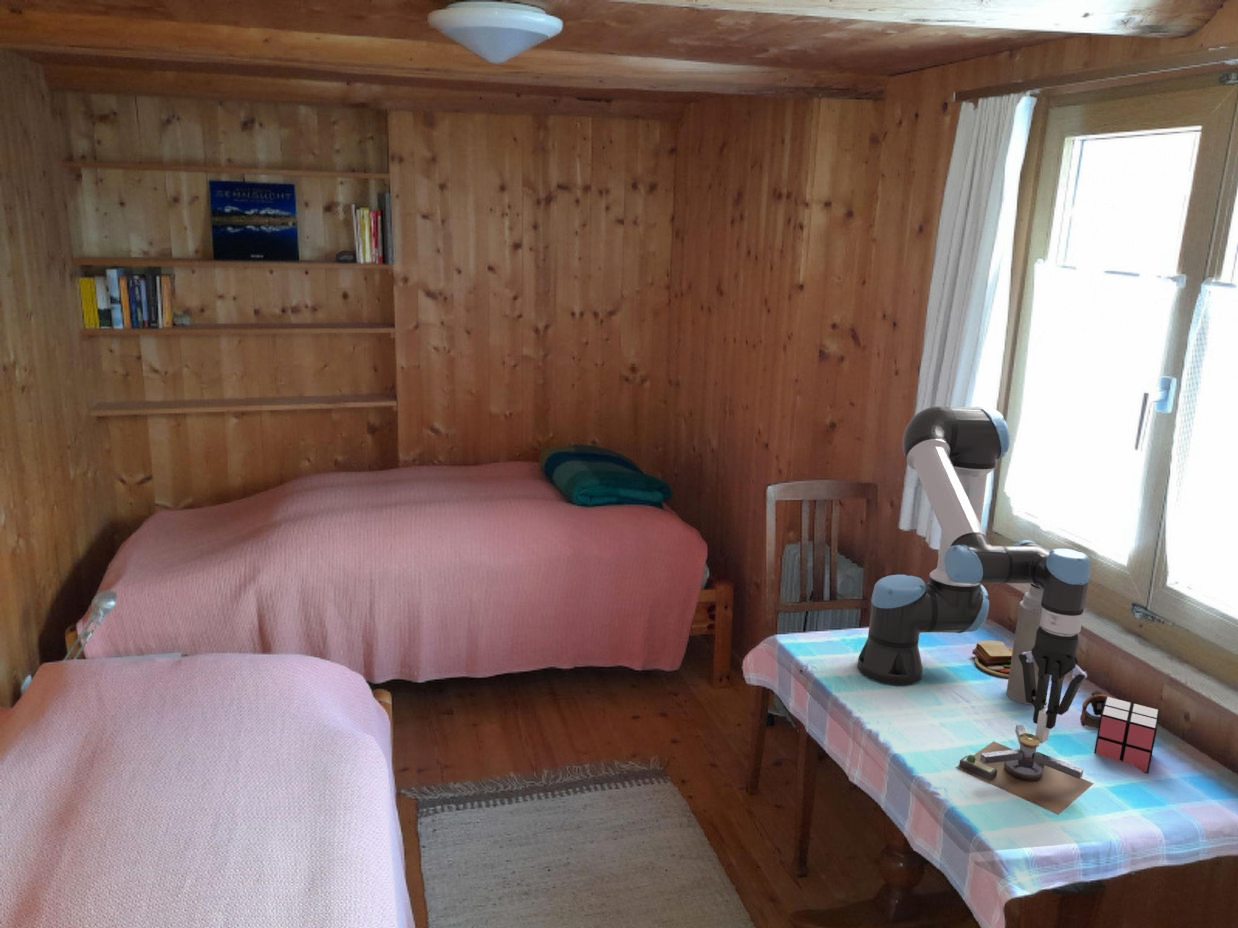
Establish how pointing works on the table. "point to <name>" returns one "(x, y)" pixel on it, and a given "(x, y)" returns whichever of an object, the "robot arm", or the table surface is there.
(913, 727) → the table surface
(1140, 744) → the puzzle cube
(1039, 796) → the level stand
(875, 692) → the table surface
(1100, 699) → the pottery mug
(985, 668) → the toy sandwich meal
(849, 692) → the table surface
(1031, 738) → the cam capstan
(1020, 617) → the thermos bottle
